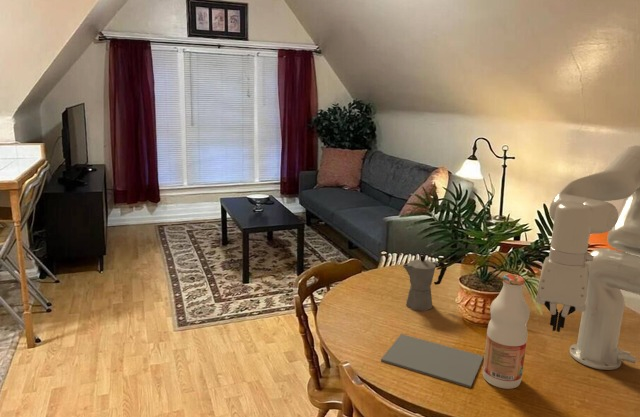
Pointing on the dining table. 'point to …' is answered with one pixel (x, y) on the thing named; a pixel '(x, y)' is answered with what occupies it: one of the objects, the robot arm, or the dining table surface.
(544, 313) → the dining table surface
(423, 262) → the coffeepot
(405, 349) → the mat
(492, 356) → the fruit juice
